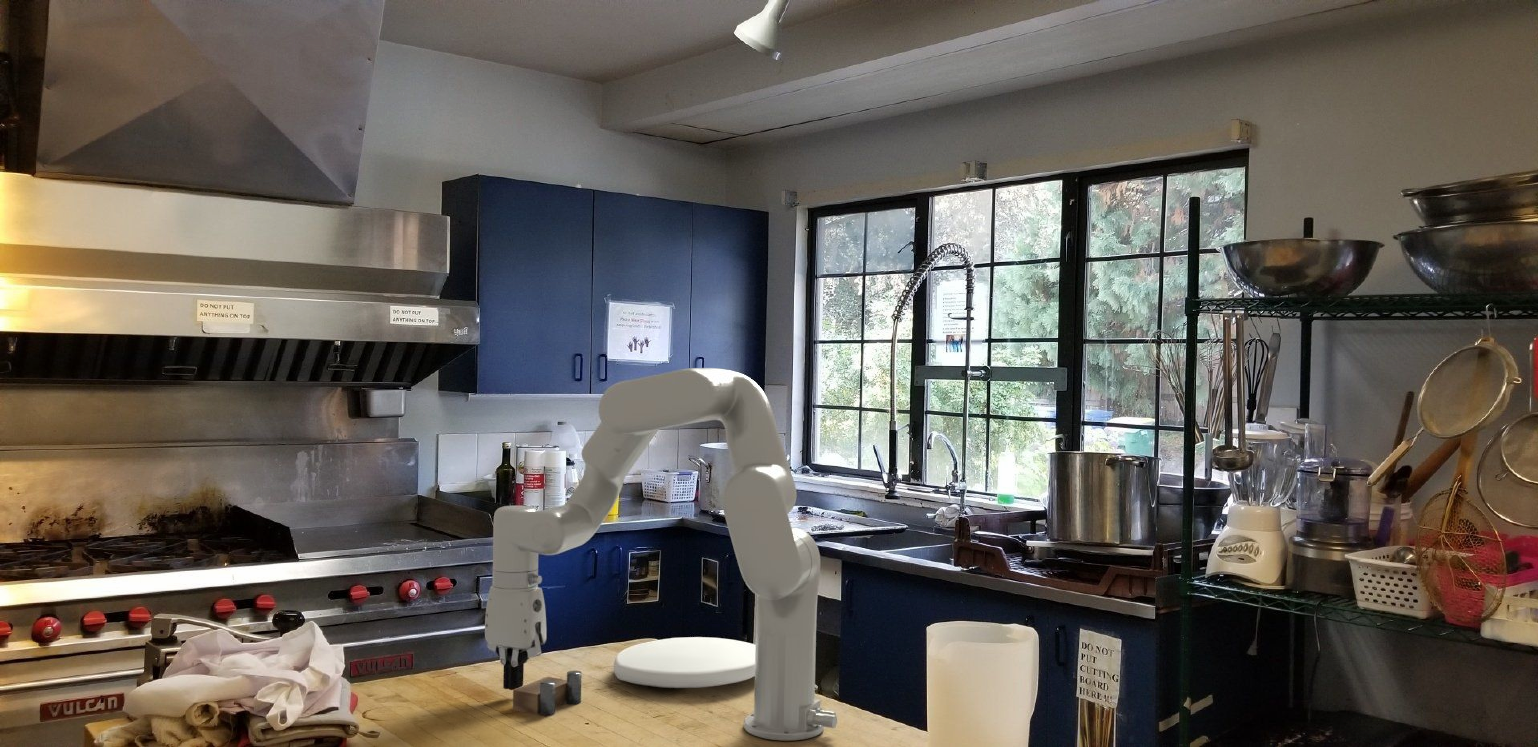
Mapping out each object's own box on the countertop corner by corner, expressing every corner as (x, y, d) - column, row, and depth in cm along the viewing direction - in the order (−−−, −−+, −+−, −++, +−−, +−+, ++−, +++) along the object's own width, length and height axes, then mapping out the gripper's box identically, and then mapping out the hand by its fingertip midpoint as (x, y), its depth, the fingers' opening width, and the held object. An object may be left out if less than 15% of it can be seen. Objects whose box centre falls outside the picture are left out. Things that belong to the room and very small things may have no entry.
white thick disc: (590, 664, 191) (641, 630, 217) (593, 701, 191) (643, 663, 217) (746, 659, 185) (778, 625, 211) (749, 698, 185) (781, 658, 211)
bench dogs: (583, 701, 185) (584, 671, 185) (548, 716, 177) (549, 685, 177) (572, 699, 186) (572, 669, 186) (536, 714, 178) (537, 683, 178)
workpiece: (571, 701, 186) (571, 680, 186) (536, 715, 178) (537, 694, 178) (547, 696, 188) (547, 676, 188) (512, 710, 180) (513, 689, 180)
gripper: (564, 580, 186) (562, 688, 186) (495, 571, 192) (493, 675, 193) (536, 587, 179) (534, 700, 179) (466, 578, 186) (464, 686, 186)
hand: (513, 687), depth 186 cm, fingers closed
